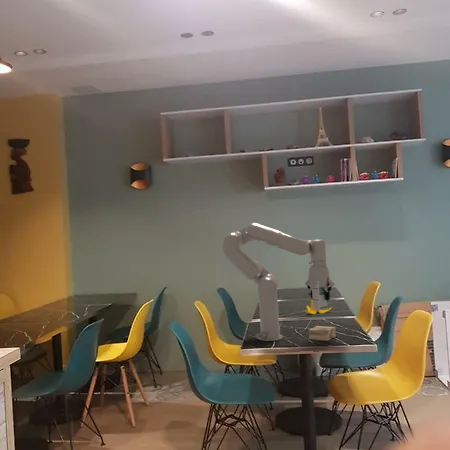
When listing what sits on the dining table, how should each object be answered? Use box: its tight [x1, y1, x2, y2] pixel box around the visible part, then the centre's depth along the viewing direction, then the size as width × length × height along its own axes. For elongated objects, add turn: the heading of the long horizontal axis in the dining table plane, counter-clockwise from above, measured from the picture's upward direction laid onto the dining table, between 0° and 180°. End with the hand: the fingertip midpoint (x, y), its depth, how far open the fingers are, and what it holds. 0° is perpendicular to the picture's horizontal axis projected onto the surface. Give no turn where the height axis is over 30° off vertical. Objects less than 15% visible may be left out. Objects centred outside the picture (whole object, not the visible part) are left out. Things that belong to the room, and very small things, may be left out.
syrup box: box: [312, 281, 330, 311], centre depth 258 cm, size 6×6×14 cm
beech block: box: [308, 325, 337, 342], centre depth 258 cm, size 10×10×5 cm
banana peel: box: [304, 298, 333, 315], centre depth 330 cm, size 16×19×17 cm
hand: (320, 299), depth 258 cm, fingers closed on syrup box, 7 cm apart
